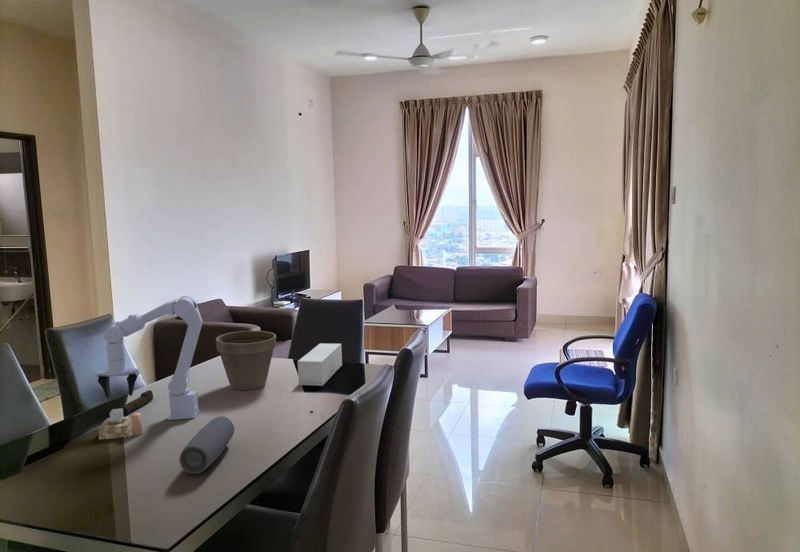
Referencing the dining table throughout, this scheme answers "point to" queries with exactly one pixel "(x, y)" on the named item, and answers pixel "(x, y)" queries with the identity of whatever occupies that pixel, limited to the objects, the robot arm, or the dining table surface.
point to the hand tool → (137, 402)
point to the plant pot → (246, 357)
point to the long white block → (319, 364)
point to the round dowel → (136, 424)
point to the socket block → (115, 429)
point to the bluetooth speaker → (206, 445)
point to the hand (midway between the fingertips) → (119, 395)
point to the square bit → (116, 416)
